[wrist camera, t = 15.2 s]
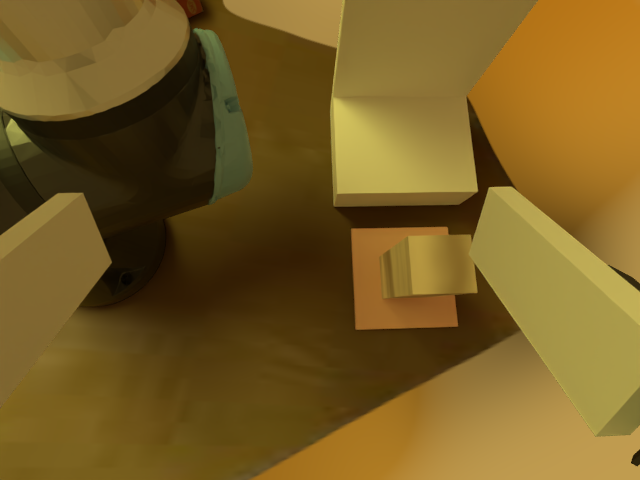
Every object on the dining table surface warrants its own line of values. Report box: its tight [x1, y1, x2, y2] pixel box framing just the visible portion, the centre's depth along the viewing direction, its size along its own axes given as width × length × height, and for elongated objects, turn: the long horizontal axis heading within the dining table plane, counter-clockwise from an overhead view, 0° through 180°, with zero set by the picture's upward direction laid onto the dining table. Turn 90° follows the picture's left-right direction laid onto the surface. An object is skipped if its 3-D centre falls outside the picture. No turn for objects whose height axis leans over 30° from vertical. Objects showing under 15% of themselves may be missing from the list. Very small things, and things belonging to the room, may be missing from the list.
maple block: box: [379, 235, 478, 299], centre depth 35 cm, size 6×5×12 cm
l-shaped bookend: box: [330, 0, 538, 207], centre depth 33 cm, size 16×14×24 cm
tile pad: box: [351, 227, 458, 330], centre depth 41 cm, size 12×12×1 cm
